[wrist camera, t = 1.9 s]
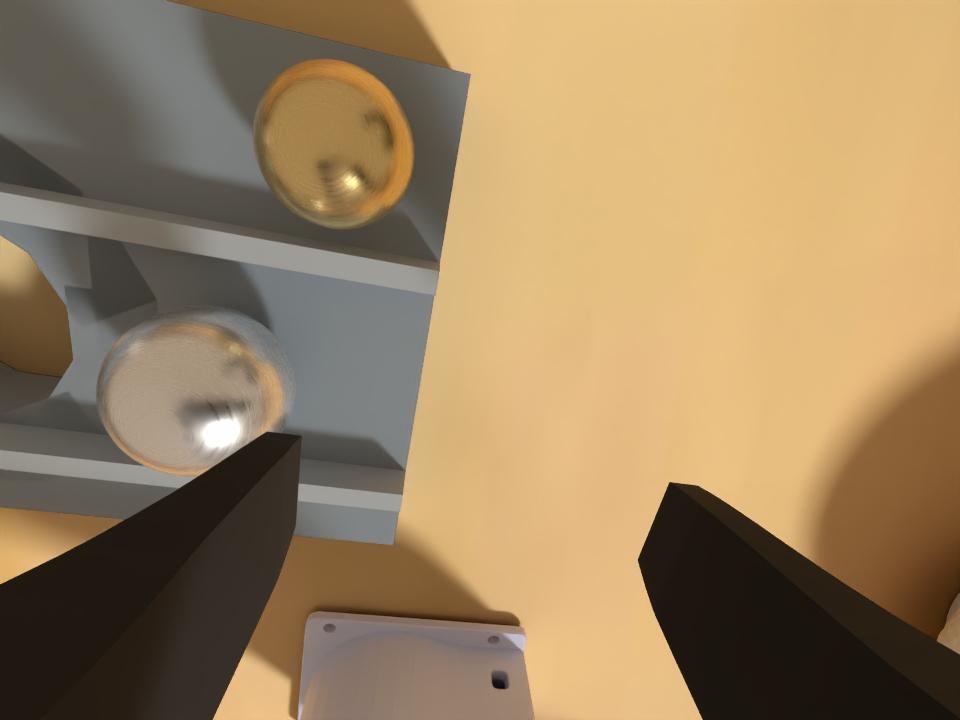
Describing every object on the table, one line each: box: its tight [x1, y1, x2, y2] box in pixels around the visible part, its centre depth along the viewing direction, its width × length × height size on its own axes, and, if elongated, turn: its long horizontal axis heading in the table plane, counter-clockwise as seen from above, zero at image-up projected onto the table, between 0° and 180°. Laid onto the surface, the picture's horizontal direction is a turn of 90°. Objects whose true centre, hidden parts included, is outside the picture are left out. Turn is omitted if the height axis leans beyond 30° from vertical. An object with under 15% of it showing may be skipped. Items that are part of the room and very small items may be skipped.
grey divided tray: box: [0, 0, 471, 545], centre depth 13 cm, size 17×14×4 cm
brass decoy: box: [253, 59, 415, 229], centre depth 10 cm, size 3×3×3 cm
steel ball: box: [96, 305, 296, 477], centre depth 11 cm, size 4×4×4 cm
